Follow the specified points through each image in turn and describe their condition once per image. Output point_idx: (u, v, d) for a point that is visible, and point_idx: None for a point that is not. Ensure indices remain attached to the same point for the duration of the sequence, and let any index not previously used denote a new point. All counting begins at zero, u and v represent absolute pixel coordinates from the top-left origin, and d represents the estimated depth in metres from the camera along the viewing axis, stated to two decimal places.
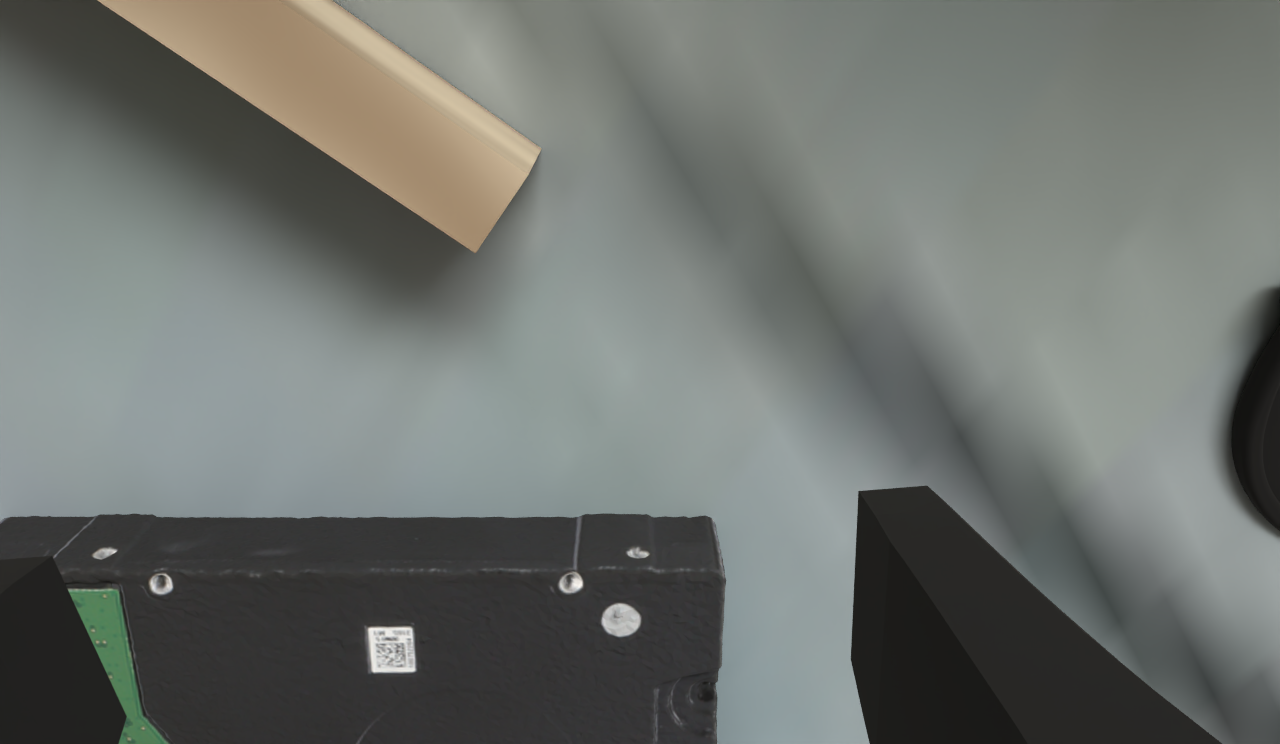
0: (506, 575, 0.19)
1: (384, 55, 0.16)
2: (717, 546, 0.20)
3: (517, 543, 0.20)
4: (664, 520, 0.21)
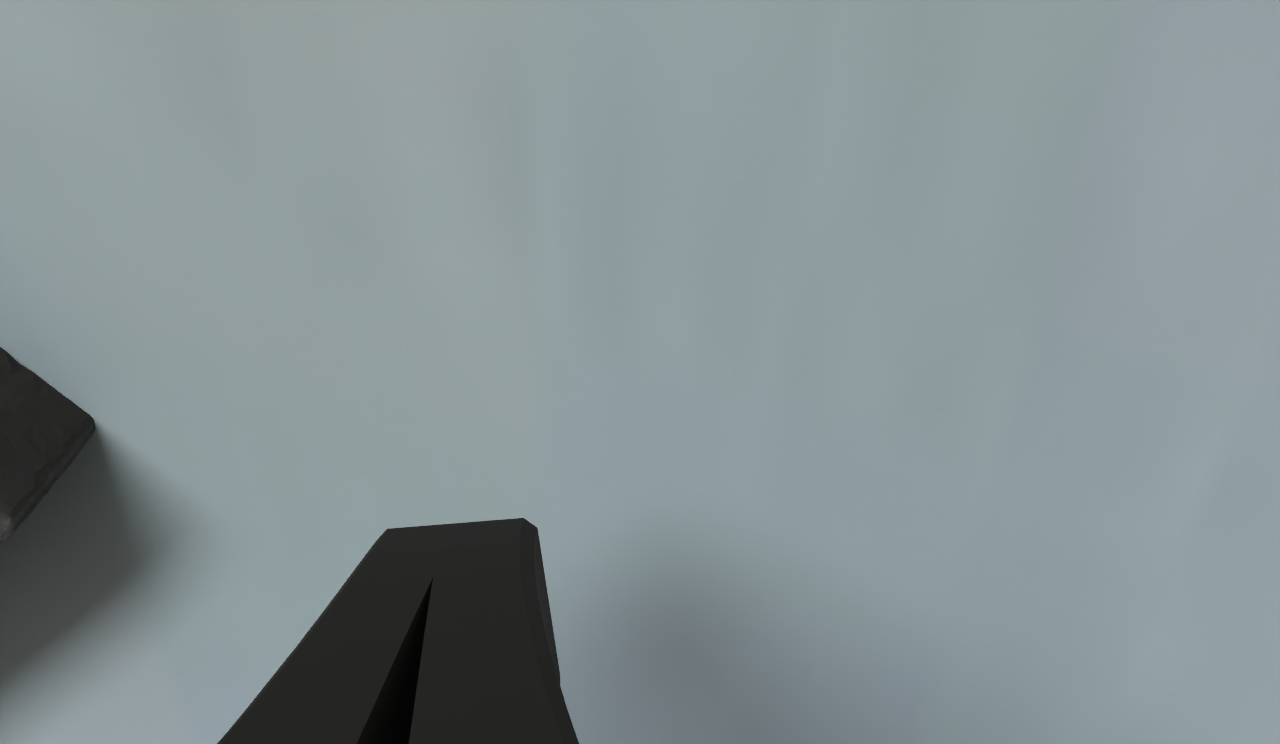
0: None
1: None
2: None
3: None
4: None
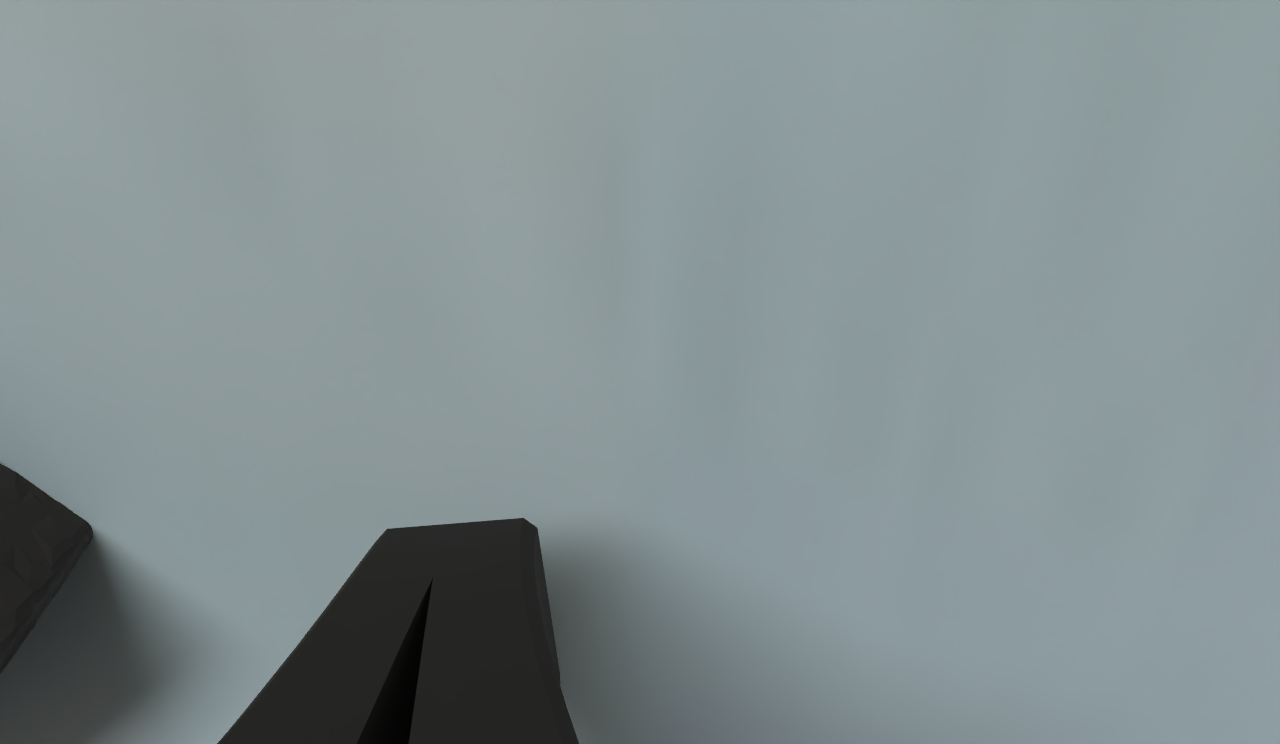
0: None
1: None
2: None
3: None
4: None
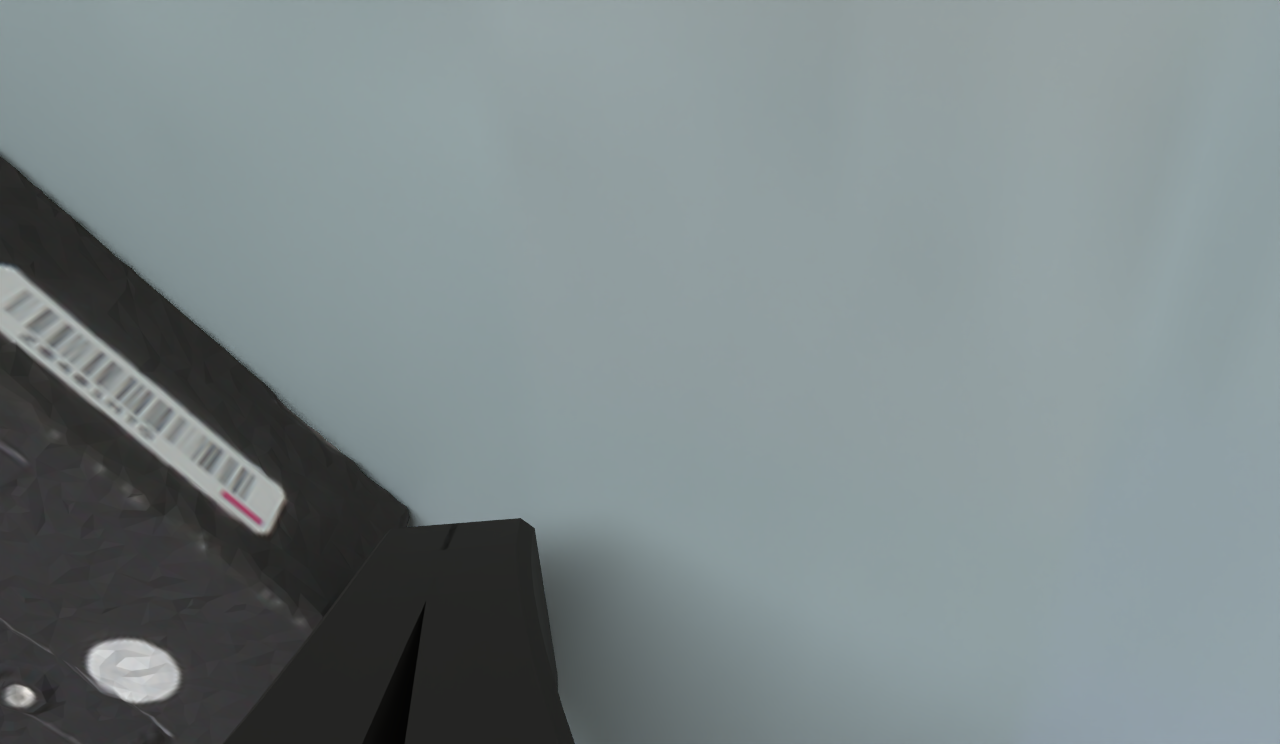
0: None
1: None
2: None
3: None
4: None
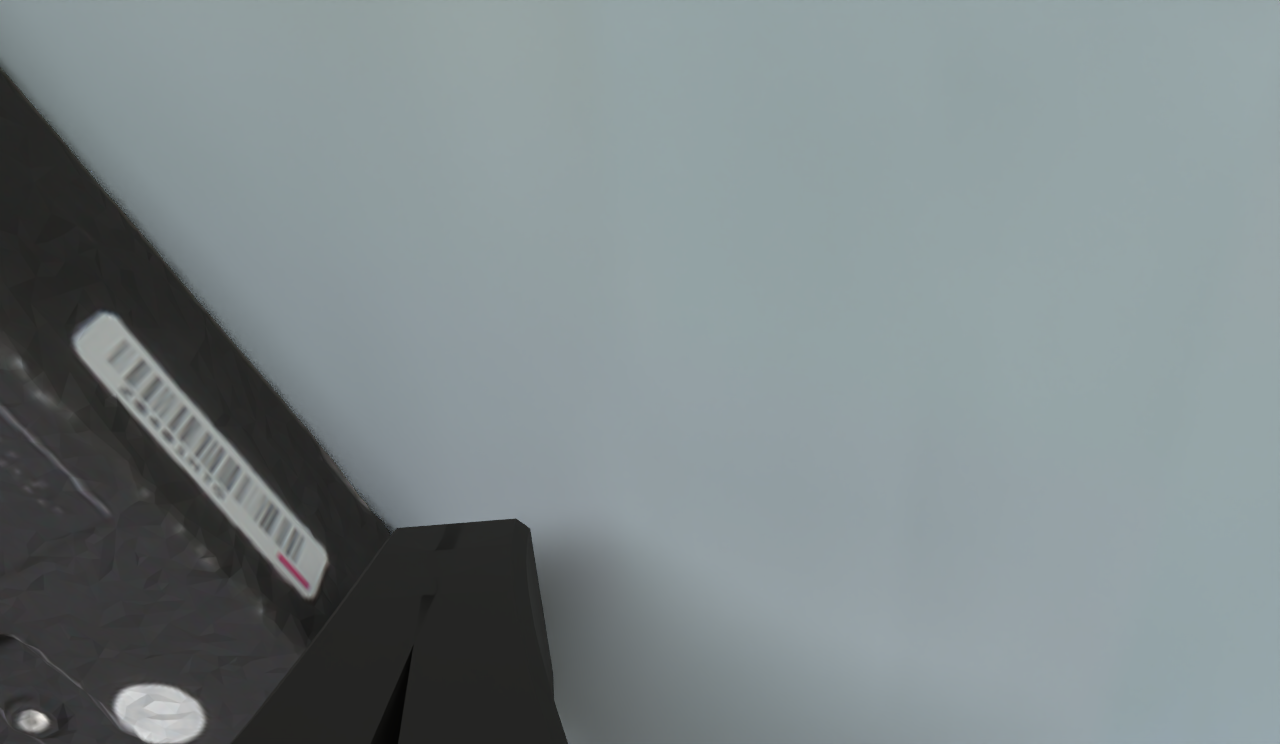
0: None
1: None
2: None
3: None
4: None
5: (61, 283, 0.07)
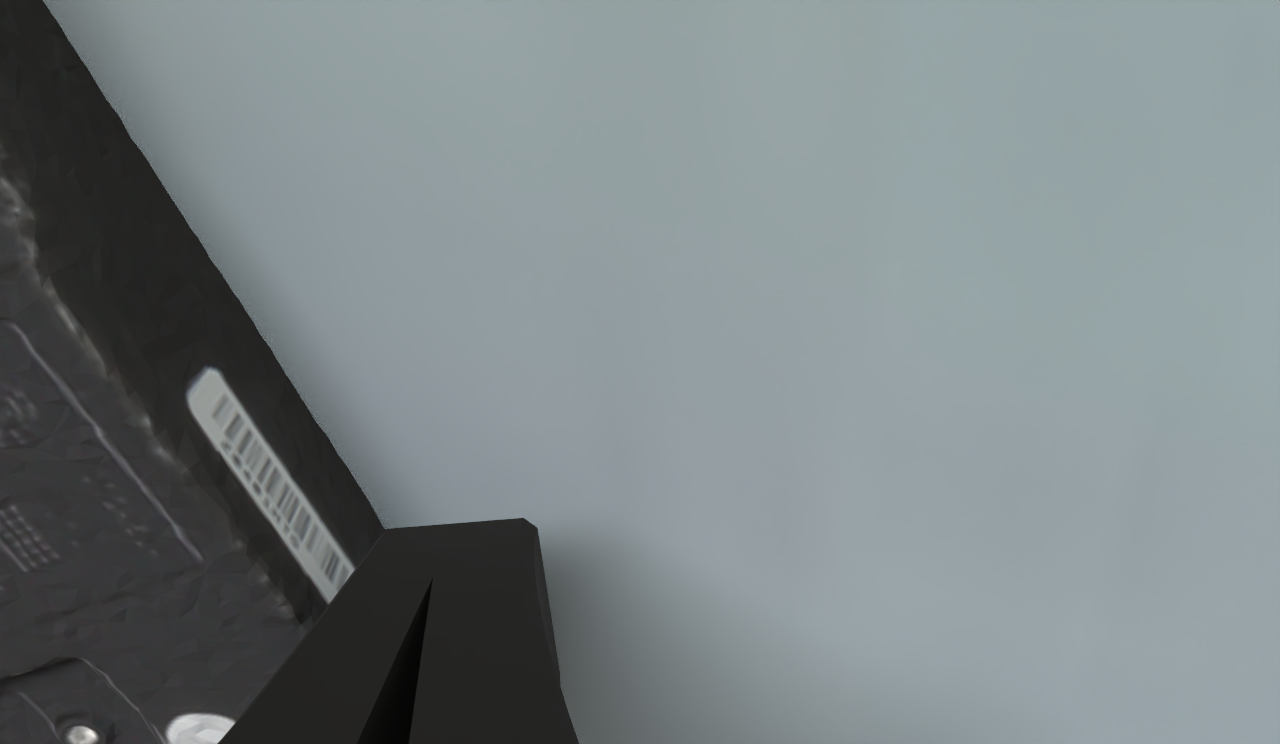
0: None
1: None
2: None
3: None
4: None
5: (176, 340, 0.08)
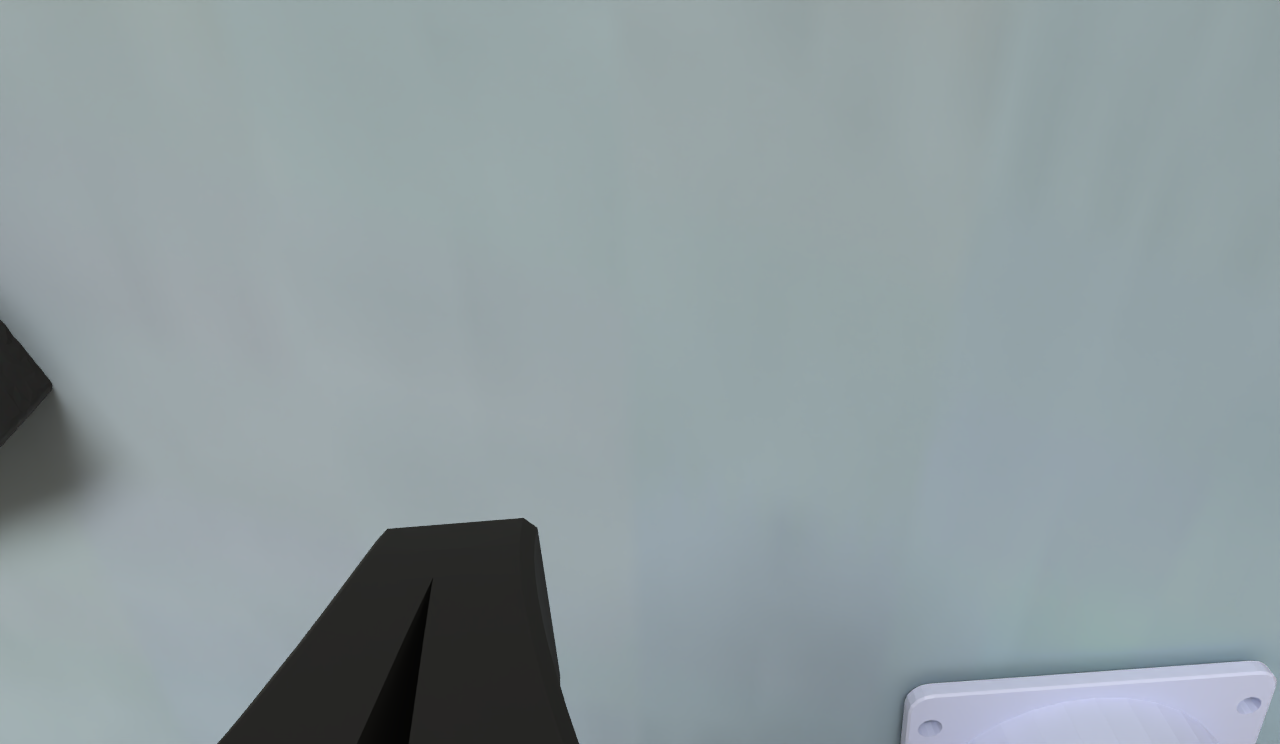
0: None
1: None
2: None
3: None
4: None
5: None
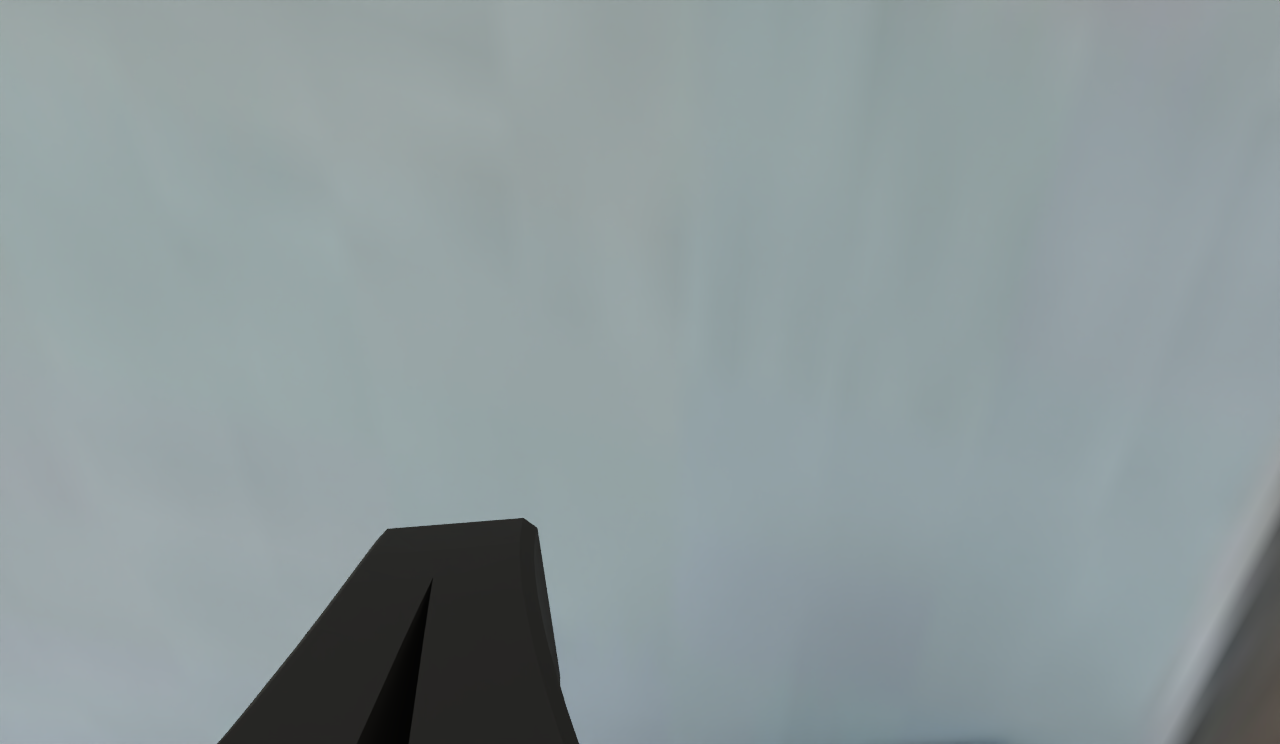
0: None
1: None
2: None
3: None
4: None
5: None
